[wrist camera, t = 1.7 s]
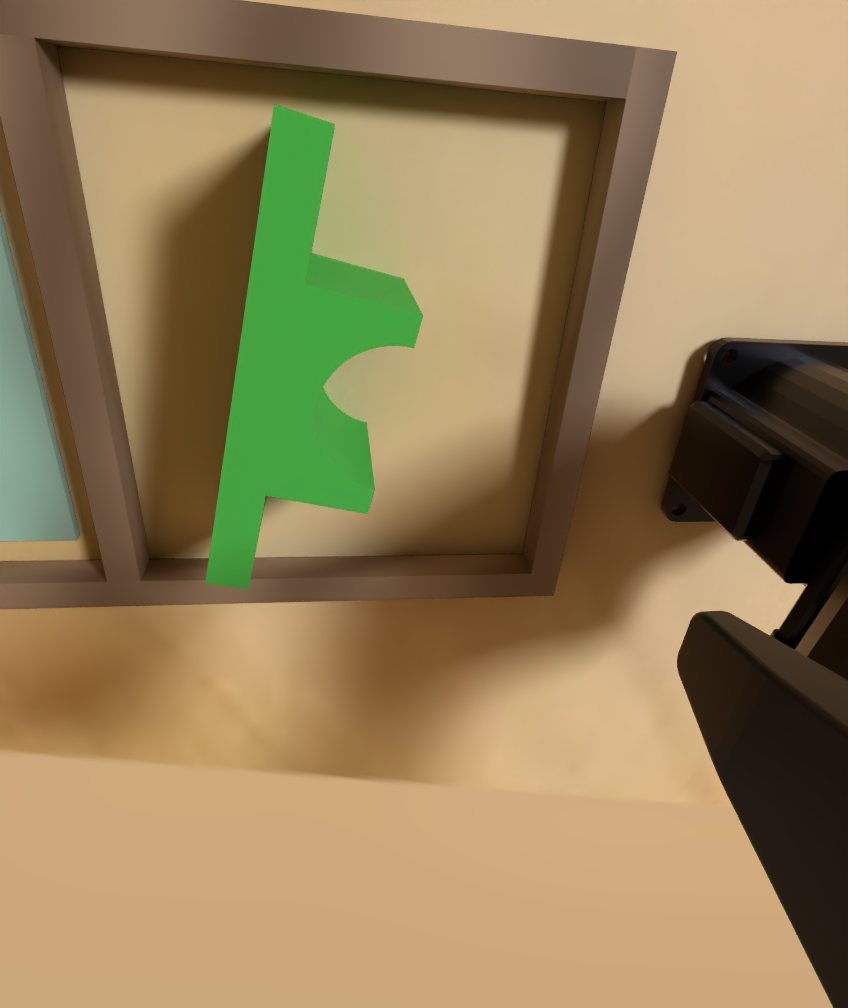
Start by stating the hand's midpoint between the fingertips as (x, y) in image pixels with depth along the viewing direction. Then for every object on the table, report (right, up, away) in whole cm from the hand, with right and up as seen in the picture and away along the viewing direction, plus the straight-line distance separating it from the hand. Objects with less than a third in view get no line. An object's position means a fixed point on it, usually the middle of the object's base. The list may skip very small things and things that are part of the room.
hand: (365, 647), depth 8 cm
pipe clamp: (-2, +6, +10) cm, 12 cm away
